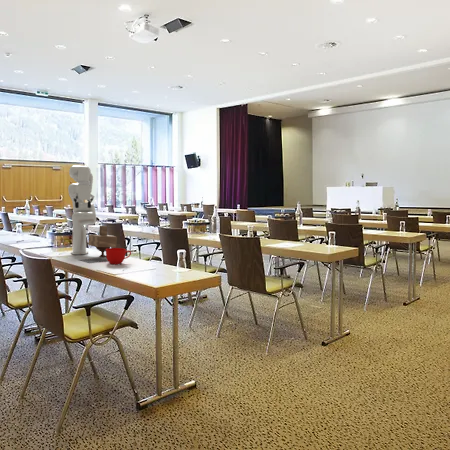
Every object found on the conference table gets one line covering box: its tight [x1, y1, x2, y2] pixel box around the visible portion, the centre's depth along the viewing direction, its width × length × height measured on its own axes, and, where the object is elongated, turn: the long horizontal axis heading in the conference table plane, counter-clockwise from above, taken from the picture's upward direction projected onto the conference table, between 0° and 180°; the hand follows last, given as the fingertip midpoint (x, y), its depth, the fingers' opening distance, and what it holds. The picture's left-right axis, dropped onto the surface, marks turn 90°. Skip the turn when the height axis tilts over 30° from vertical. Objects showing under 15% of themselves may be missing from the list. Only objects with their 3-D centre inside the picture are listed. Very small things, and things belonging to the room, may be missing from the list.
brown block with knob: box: [87, 225, 118, 248], centre depth 339 cm, size 15×15×15 cm
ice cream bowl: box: [95, 247, 111, 258], centre depth 340 cm, size 11×11×15 cm
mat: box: [78, 257, 109, 264], centre depth 321 cm, size 17×17×1 cm
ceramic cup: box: [105, 247, 132, 265], centre depth 312 cm, size 13×17×10 cm
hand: (83, 207), depth 331 cm, fingers open, 9 cm apart
